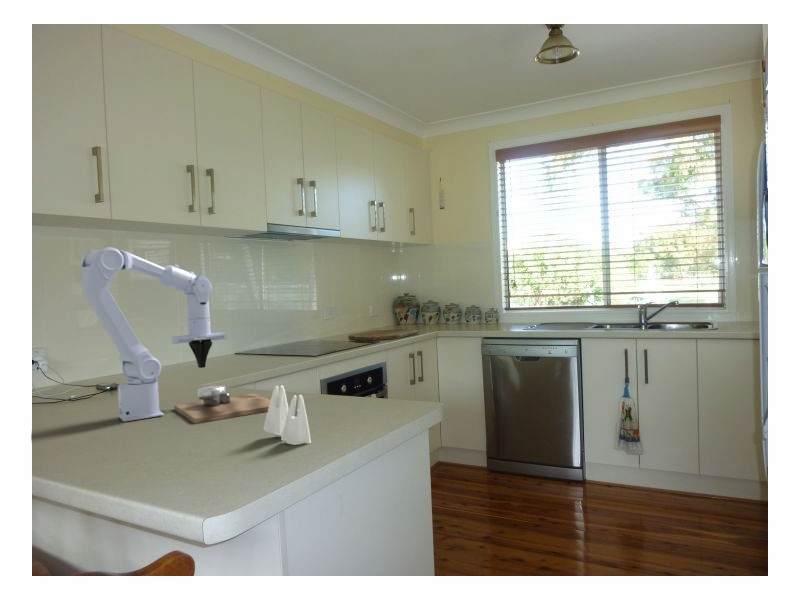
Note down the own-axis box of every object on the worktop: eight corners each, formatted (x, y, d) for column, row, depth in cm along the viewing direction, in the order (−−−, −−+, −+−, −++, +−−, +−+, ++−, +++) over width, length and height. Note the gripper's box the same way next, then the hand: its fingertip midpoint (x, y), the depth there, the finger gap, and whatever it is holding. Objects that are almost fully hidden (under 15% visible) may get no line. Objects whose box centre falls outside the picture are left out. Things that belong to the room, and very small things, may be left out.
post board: (195, 423, 134) (194, 411, 134) (174, 409, 153) (173, 398, 152) (282, 409, 146) (281, 397, 146) (253, 397, 165) (253, 387, 165)
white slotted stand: (262, 438, 118) (259, 385, 118) (279, 433, 121) (277, 382, 121) (295, 447, 110) (292, 391, 109) (312, 442, 113) (309, 387, 112)
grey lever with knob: (195, 397, 151) (194, 388, 151) (221, 393, 155) (221, 384, 155) (212, 406, 138) (211, 396, 138) (240, 401, 142) (239, 392, 141)
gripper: (175, 321, 150) (178, 371, 150) (229, 317, 158) (232, 365, 159) (169, 320, 156) (171, 369, 156) (221, 316, 164) (223, 363, 164)
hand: (201, 367), depth 158 cm, fingers closed
